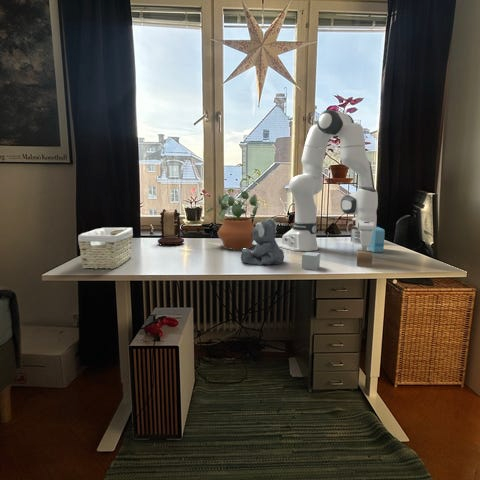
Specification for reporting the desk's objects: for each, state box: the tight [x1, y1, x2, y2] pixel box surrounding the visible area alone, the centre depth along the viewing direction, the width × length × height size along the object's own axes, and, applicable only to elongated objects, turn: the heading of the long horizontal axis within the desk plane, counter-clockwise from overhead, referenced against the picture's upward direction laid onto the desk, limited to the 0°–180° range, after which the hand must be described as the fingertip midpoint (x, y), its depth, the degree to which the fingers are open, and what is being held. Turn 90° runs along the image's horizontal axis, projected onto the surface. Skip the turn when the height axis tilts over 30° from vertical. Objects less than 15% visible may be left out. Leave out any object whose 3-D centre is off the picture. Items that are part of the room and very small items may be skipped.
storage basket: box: [77, 227, 134, 270], centre depth 154 cm, size 24×16×15 cm
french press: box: [346, 216, 361, 245], centre depth 202 cm, size 10×12×25 cm
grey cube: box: [301, 251, 321, 271], centre depth 148 cm, size 6×6×6 cm
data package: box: [367, 226, 386, 254], centre depth 181 cm, size 12×4×12 cm, turn 176°
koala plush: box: [240, 217, 285, 266], centre depth 157 cm, size 17×18×20 cm
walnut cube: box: [356, 249, 373, 268], centre depth 153 cm, size 6×6×6 cm
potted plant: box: [206, 191, 259, 250], centre depth 190 cm, size 23×28×30 cm
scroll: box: [157, 208, 185, 246], centre depth 198 cm, size 15×15×20 cm
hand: (364, 253), depth 161 cm, fingers closed
